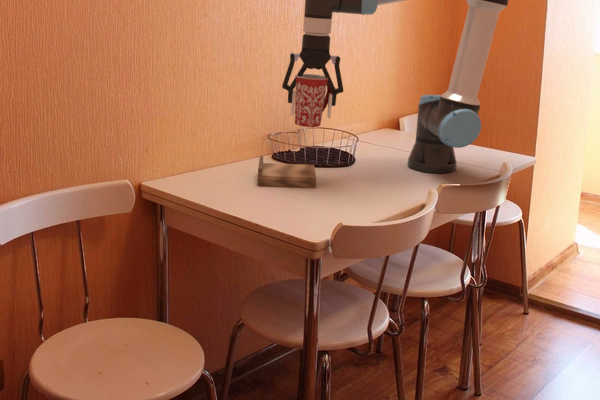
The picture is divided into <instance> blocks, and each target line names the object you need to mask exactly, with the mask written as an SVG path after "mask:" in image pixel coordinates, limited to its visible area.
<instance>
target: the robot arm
mask: <svg viewBox="0 0 600 400" xmlns="http://www.w3.org/2000/svg"><path fill="white" fill-rule="evenodd" d="M404 1H406V0H304V17H303V24H302V25H303V26H302V32H303V35H302V42H301V50H300V52H297V53H294V52H291V53H289V58H290V59H289V64H288V67H287V69H286V73H285V76H284V79H283V82H282V85H281V88H282V89H283V90H286V91H287V103H288V104H291V108H290V109H291V110H290V116H291V117H295V91H296V90H295V89H296V77H295V76H294V78H293V80H292V82H291V83H290V85H289V81H290V78H291V75H292V73H293V70H294V66H295V62H297V61H298V59H299V58H300V60H301V61H302V63H303V64H302V66H301V67H300V69H299V70H298V72H297V76H299V77H302V75H303V74H305V72H306V71H307V70H308V69H309V70H314V69H315V70H319V71H320V70H321V71H322V72H323V76H325V77H326V79H327V78H328V80H327V82H328V84H329V86H330V89H331V91H332V93H329V101H328V104H327V113H326V115H327V116H326V117H327V119H331V118H332V107H335V106H336V104H337V95H339V94H342V93H343V92H344V86H343V80H342V73H341V68H340V62H341V57H340V55H331V53H330V47H331V37H330V34H331V33H332V23H333V13H336V14H338V13H341V14H352V15H354V14H355V15H362V16H365V15H367V16H368V15H374V14H375V13H376V11H377V10H378V6H381V5H387V4H388V5H389V4H392V3H398V2H399V3H400V2H404ZM465 2H466V4H467V6H468V8H467V13H466V17H465V20H464V25H463V29H462V32H461V36H460V41H459V43H458V48H457V51H456V52H457V53H456V57H455V60H454V64H453V68H452V72H451V77H450V81H449V84H448V88H447V90H446V91H444V92H443V93H442V94H422V95H421V96H420V97H419V102H418V106H417V107H418V108H417V109H418V110H417V120H416V130H415V131H416V133H415V134H416V135H415V140H414V141H415V142H414V144H413V146H412V149H411V152H410V153H409V156H408V159H407V167H409V168H410V169H412V170H416V171H419V172H422V173H423V172H424V173H429V174H430V173H431V174H448V173H454V172H455V171H456V170H457V158H456V153H455V149H454V148H457V149H460V148H465V147H467V146H469V145H471V144H473V143H474V142H475V141H476V139H478V137H479V135H480V133H481V131H482V121H481V118H480V116H479V113H480V108H481V104H482V103H481V102H480V100H479V97H478V96H479V95H478V94H479V91H480V87H481V84H482V80H483V76H484V73H485V69H486V65H487V61H488V57H489V55H490V54H489V53H490V50H491V46H492V42H493V38H494V35H495V30H496V27H497V24H498V20H499V15H500V14H501V12H502V11H504V10H506V9H507V8H508V4H509V0H465ZM329 61H331V64H333V65H334V72H335V77H336V84H337V88H336V87H335V85H334V82H333V81H332V78H331V76H330V73H329V71H328V69H327V67H326V65H327V63H329Z"/></svg>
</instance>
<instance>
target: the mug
mask: <svg viewBox="0 0 600 400" xmlns="http://www.w3.org/2000/svg"><path fill="white" fill-rule="evenodd" d="M297 74H298V73H297ZM297 74H295V76H294V78H295V77H296V86H295V90H294V91H295V105H294V124H295V125H296V126H299V127H306V128H317V127H320V126H321V123H322V118H323V113H324V111H325V109H326V108H327V107H328V101H329V93H332V91H331V89H330V86H329V84H328V82H327V80H328V78H327V79H326V77H325V75H320V74H313V73H304V74H303V75H302V77H299V76H297Z"/></svg>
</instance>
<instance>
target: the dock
mask: <svg viewBox="0 0 600 400" xmlns="http://www.w3.org/2000/svg"><path fill="white" fill-rule="evenodd" d="M258 160H259V161H258V168H257V186H259V187H260V186H261V187H283V188H284V187H286V188H287V187H288V188H289V187H291V188H312V189H313V188H316V186H317V185H316V184H317V177H316V176H317V175H316V169H315V164H303V163H302V164H301V163H299V164H298V163H297V164H296V163H275V162H274V163H272V162H270V163H269V162H264V156H262V155H260V156H259V159H258Z"/></svg>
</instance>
